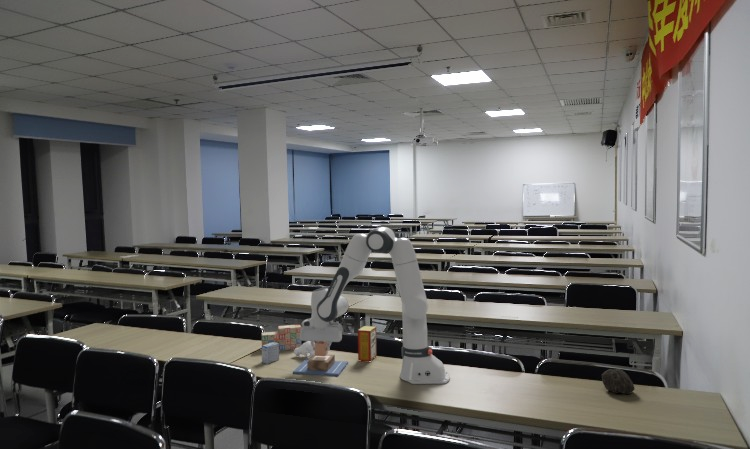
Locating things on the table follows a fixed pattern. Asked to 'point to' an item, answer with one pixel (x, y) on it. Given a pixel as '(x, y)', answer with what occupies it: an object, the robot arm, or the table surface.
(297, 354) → the white animal figurine
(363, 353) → the baking soda box
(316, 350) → the snap block
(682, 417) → the table surface
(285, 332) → the stack of blocks
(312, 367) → the board
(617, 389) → the rock
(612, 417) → the table surface
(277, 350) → the medicine box
